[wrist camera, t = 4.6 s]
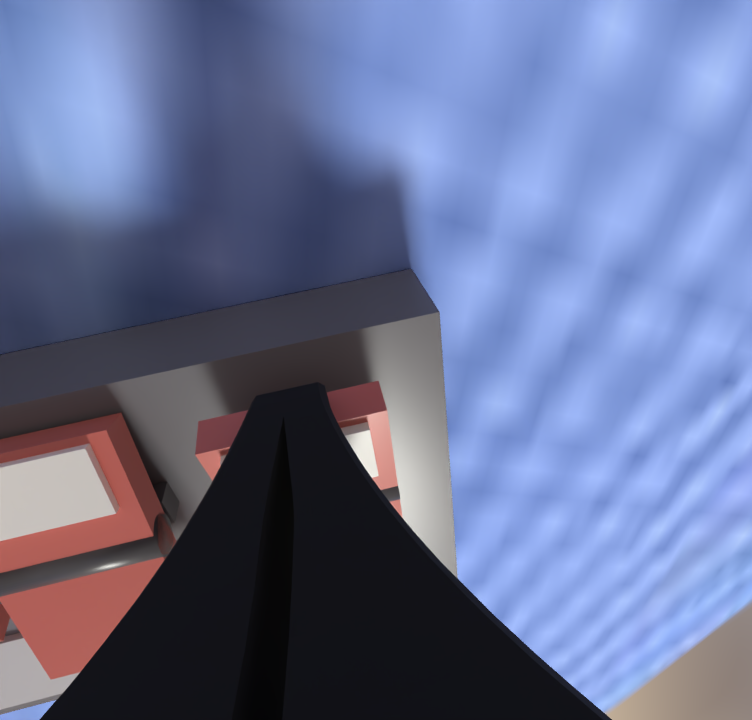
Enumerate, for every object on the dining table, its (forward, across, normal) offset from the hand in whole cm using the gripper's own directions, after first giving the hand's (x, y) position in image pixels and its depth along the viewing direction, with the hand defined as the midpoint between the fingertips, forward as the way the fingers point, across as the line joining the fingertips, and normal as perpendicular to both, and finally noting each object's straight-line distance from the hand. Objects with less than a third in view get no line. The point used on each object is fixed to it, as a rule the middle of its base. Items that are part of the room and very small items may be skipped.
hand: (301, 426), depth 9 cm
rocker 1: (0, +6, +2) cm, 6 cm away
